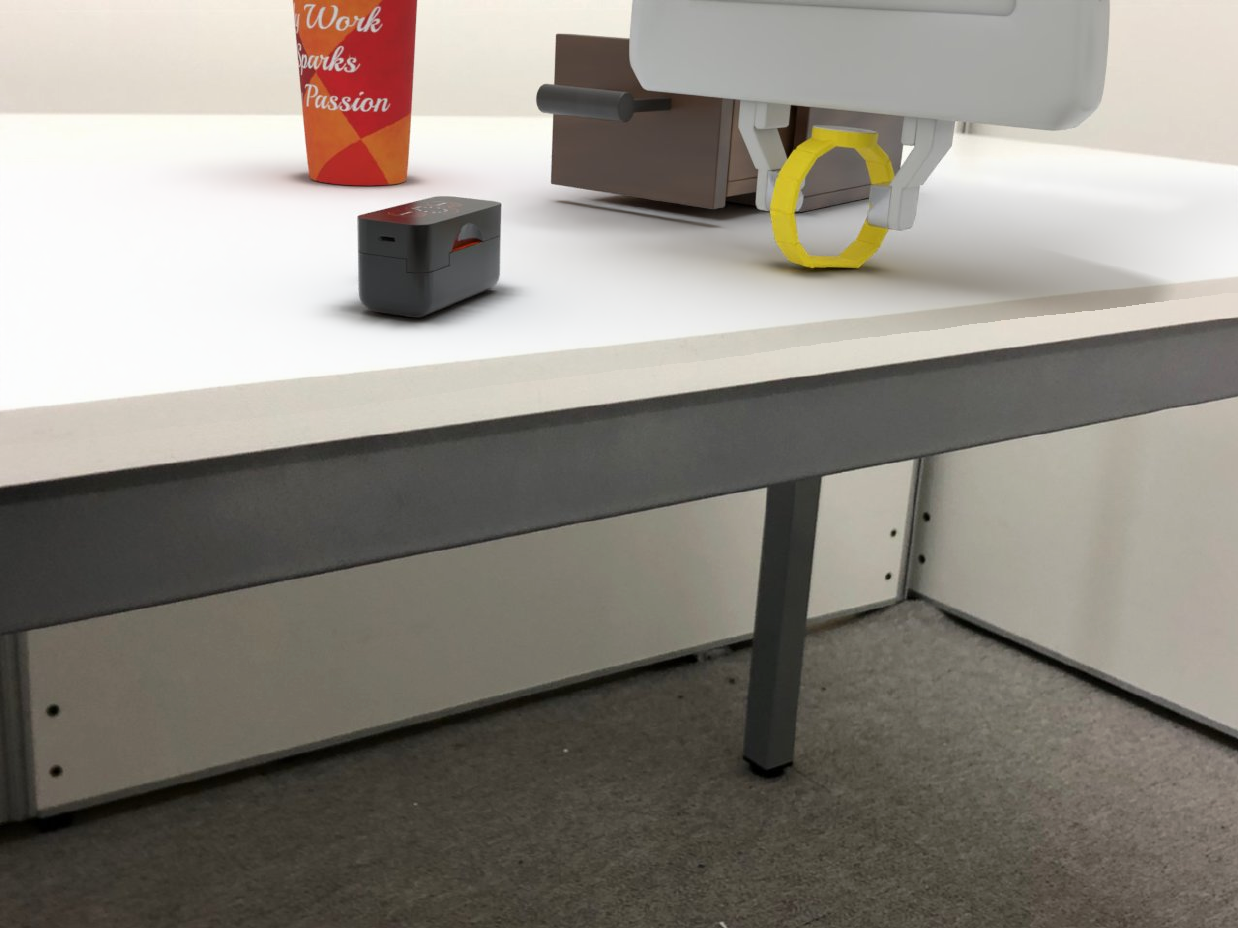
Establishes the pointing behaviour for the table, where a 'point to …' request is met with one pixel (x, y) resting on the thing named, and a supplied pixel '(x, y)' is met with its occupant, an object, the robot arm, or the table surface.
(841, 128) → the watch
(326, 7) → the paper cup
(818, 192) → the cabinet
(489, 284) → the wireless earbuds
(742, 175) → the drawer
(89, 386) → the table surface
